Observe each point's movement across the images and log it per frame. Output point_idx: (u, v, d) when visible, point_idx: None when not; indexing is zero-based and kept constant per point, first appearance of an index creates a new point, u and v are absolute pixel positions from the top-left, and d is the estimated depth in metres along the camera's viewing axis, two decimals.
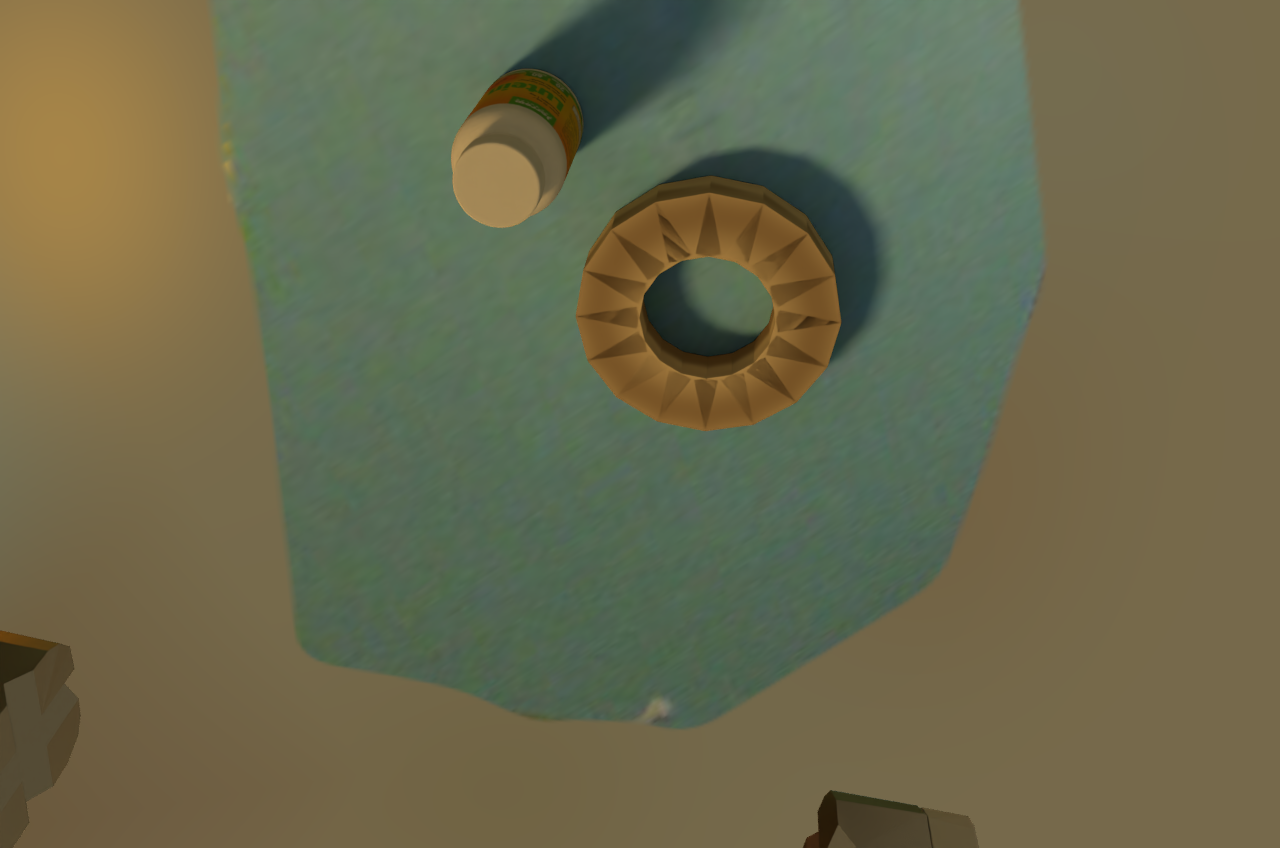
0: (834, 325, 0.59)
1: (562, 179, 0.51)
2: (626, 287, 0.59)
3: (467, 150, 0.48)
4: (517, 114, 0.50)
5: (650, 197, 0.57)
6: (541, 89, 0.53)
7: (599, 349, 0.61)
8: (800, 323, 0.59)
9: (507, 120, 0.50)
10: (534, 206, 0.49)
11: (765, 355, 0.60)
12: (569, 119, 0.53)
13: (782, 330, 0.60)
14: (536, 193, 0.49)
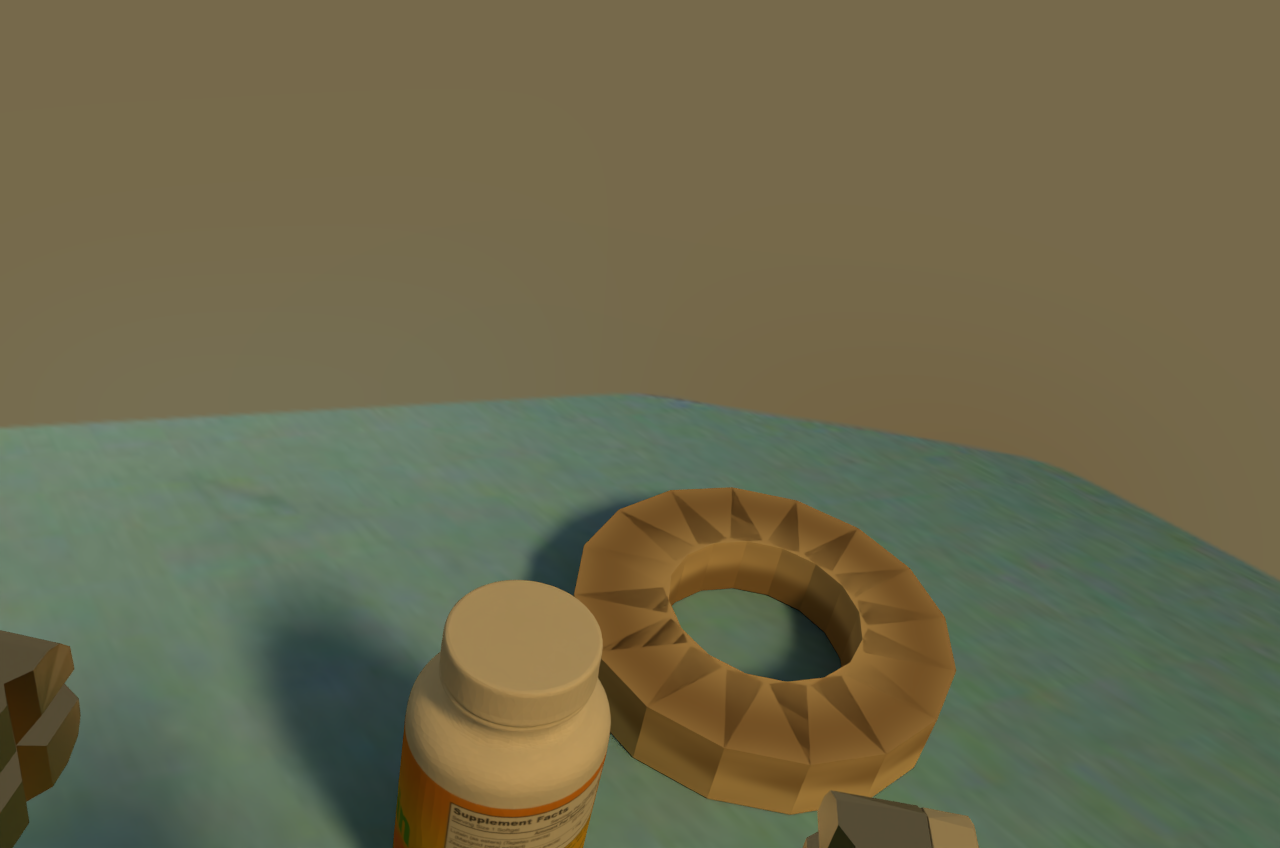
0: (737, 492, 0.46)
1: None
2: (740, 694, 0.37)
3: (458, 666, 0.26)
4: (419, 677, 0.29)
5: None
6: None
7: (859, 736, 0.36)
8: (743, 520, 0.45)
9: (426, 682, 0.28)
10: (558, 589, 0.29)
11: (800, 553, 0.44)
12: None
13: (758, 536, 0.44)
14: (534, 584, 0.29)
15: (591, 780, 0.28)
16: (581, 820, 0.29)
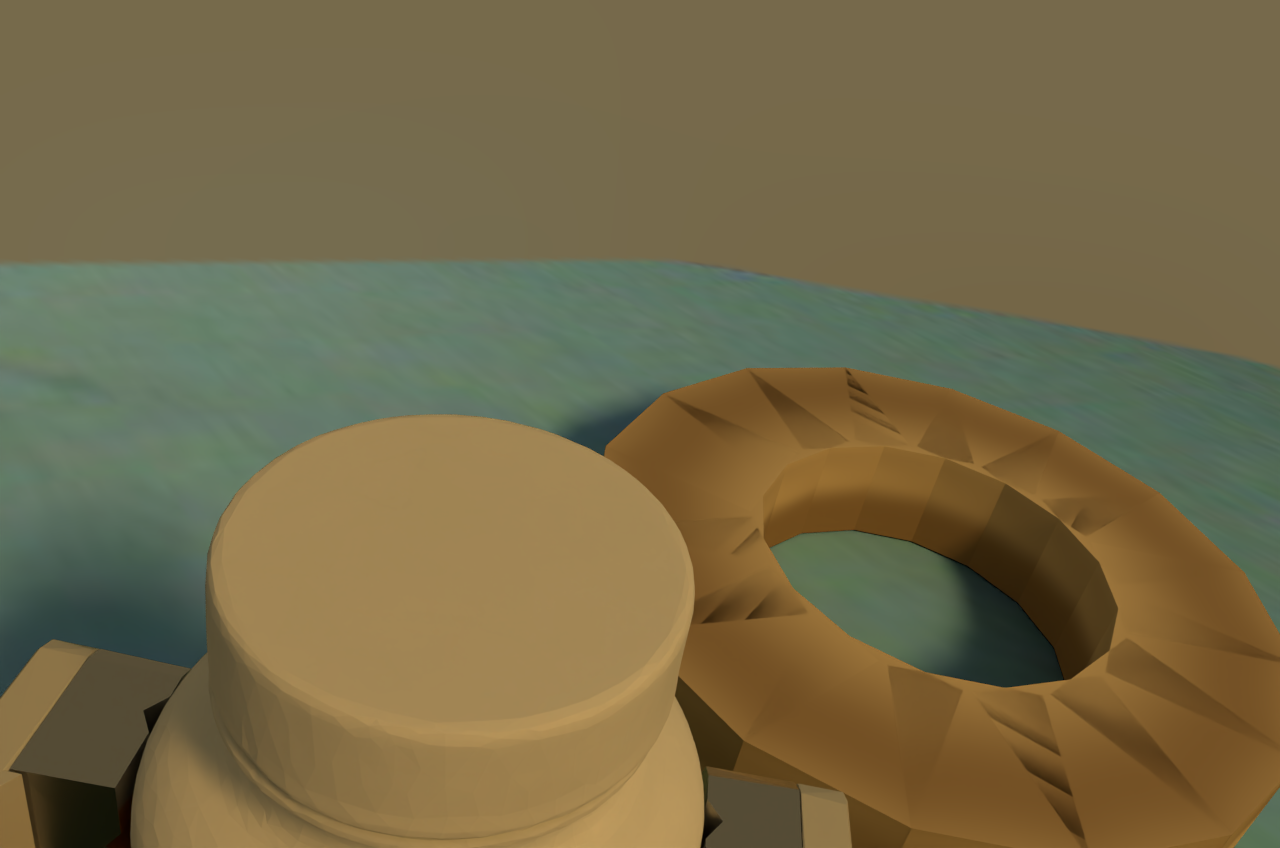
0: (855, 375, 0.28)
1: None
2: (922, 713, 0.19)
3: (235, 642, 0.08)
4: (184, 680, 0.11)
5: None
6: None
7: (1170, 797, 0.18)
8: (872, 414, 0.27)
9: (193, 693, 0.10)
10: (562, 438, 0.11)
11: (976, 466, 0.26)
12: None
13: (902, 438, 0.26)
14: (498, 424, 0.11)
15: None
16: None
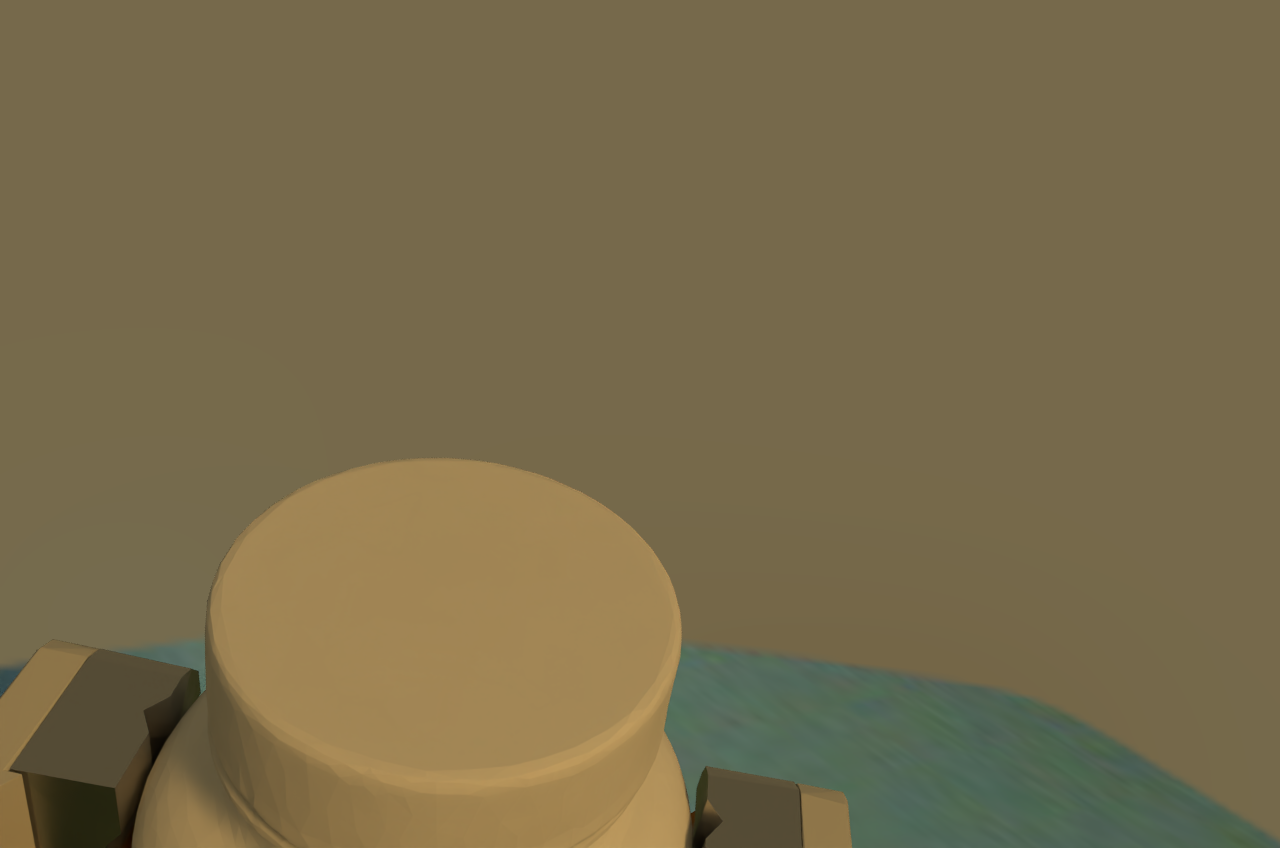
0: None
1: None
2: None
3: (234, 690, 0.08)
4: (183, 717, 0.11)
5: None
6: None
7: None
8: None
9: (192, 731, 0.10)
10: (554, 482, 0.11)
11: None
12: None
13: None
14: (492, 468, 0.11)
15: None
16: None
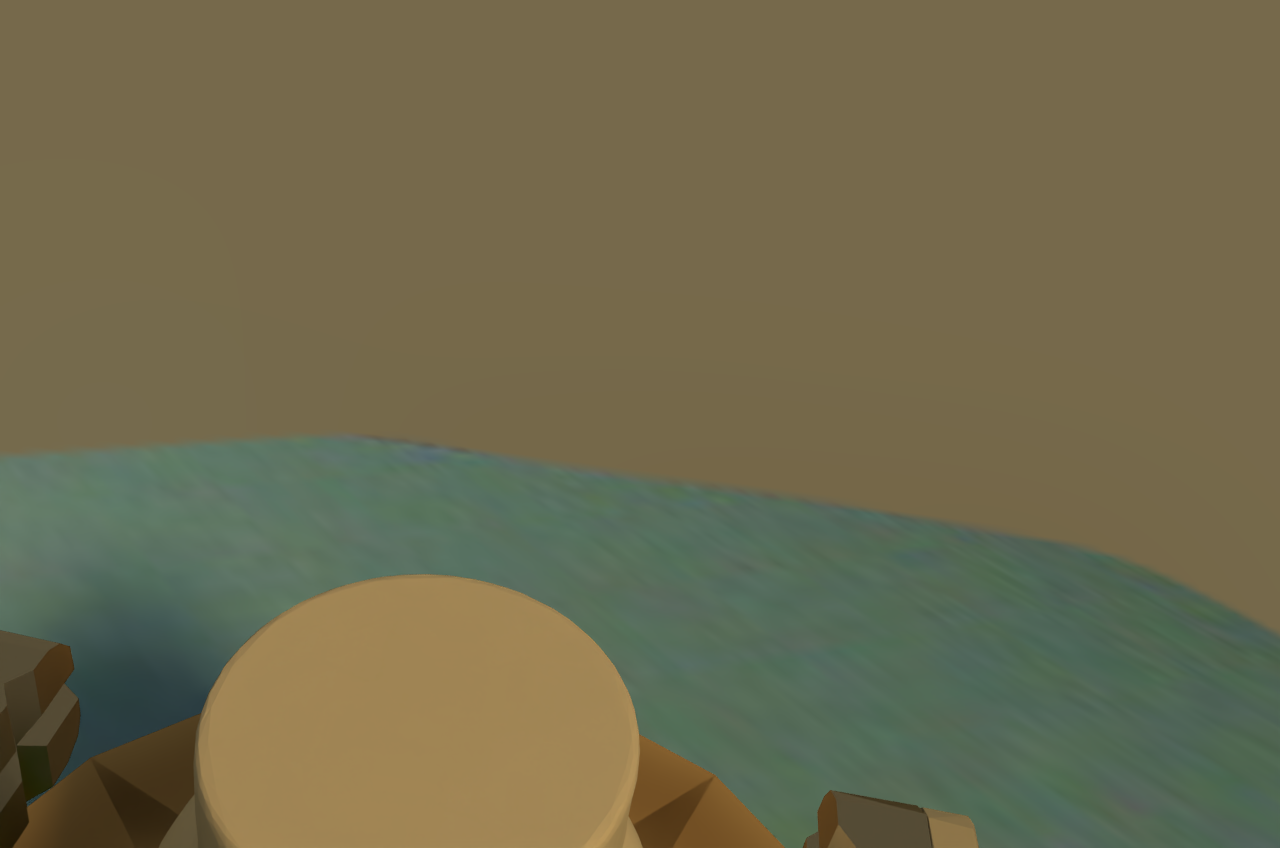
0: None
1: None
2: None
3: (218, 827, 0.09)
4: (179, 817, 0.12)
5: None
6: None
7: None
8: None
9: (186, 836, 0.11)
10: (526, 598, 0.12)
11: None
12: None
13: None
14: (467, 584, 0.12)
15: None
16: None
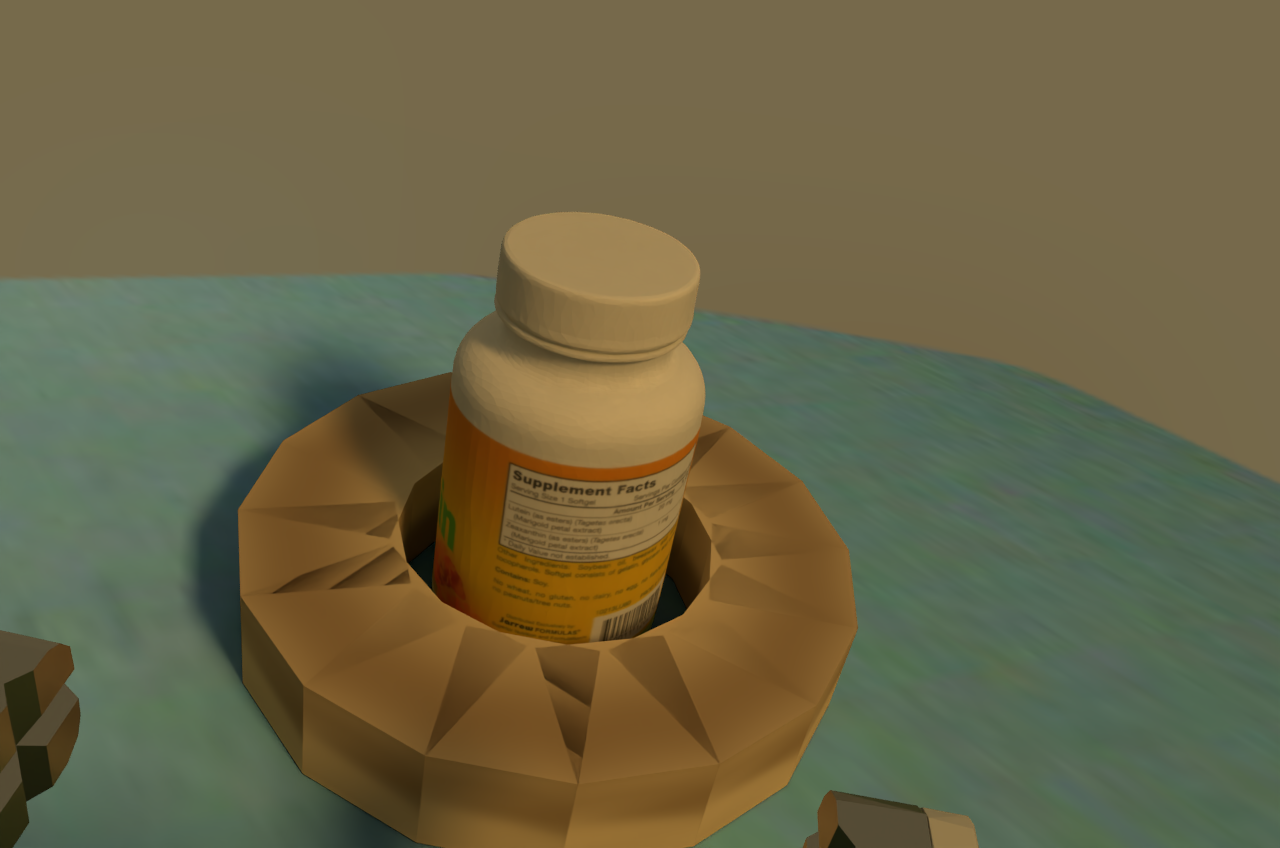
0: None
1: None
2: (479, 664, 0.22)
3: (522, 272, 0.21)
4: (468, 332, 0.23)
5: (249, 652, 0.23)
6: None
7: (677, 733, 0.21)
8: None
9: (477, 331, 0.23)
10: (640, 223, 0.23)
11: None
12: None
13: None
14: (611, 217, 0.23)
15: (683, 452, 0.23)
16: (668, 515, 0.24)
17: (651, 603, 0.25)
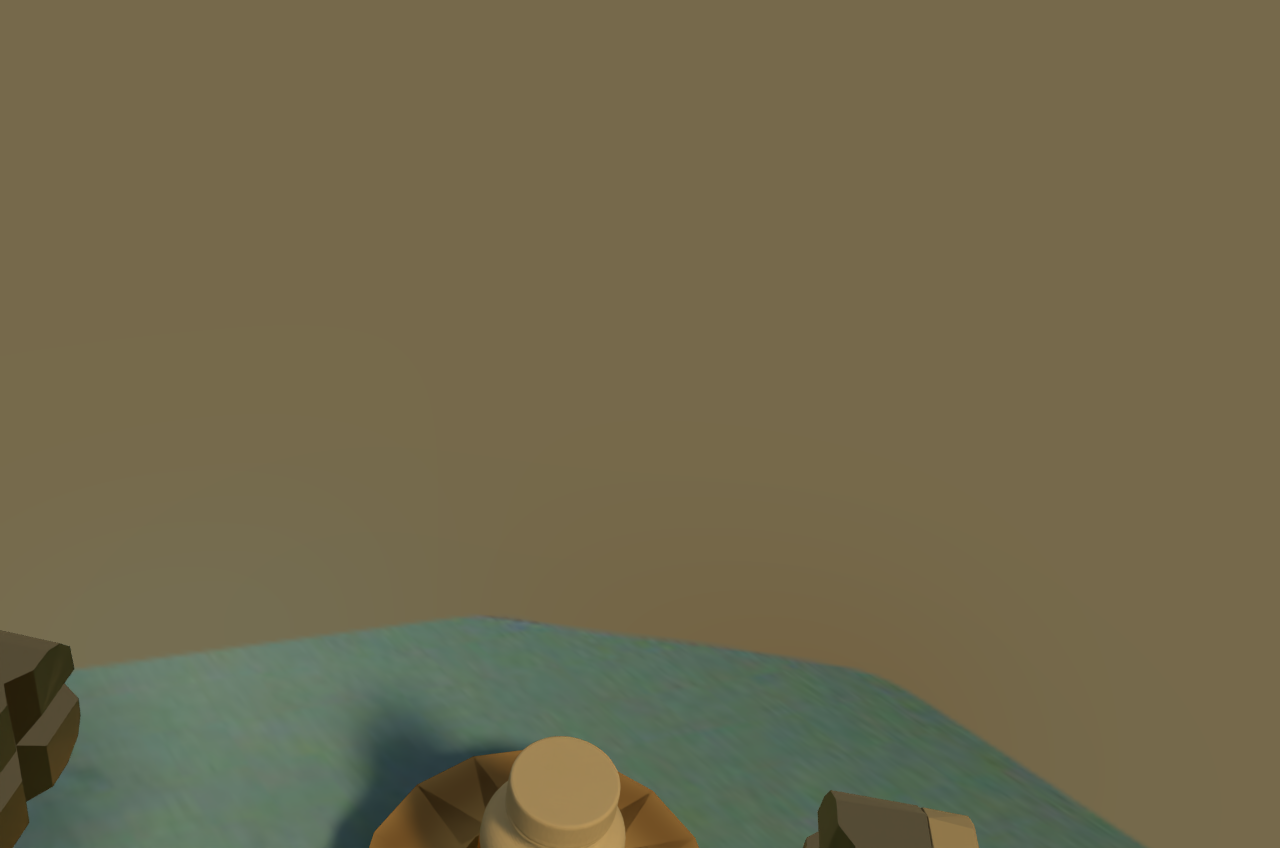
0: None
1: None
2: None
3: (520, 806, 0.38)
4: (489, 805, 0.41)
5: None
6: None
7: None
8: None
9: (495, 810, 0.40)
10: (588, 743, 0.41)
11: None
12: None
13: None
14: (572, 739, 0.41)
15: None
16: None
17: None
